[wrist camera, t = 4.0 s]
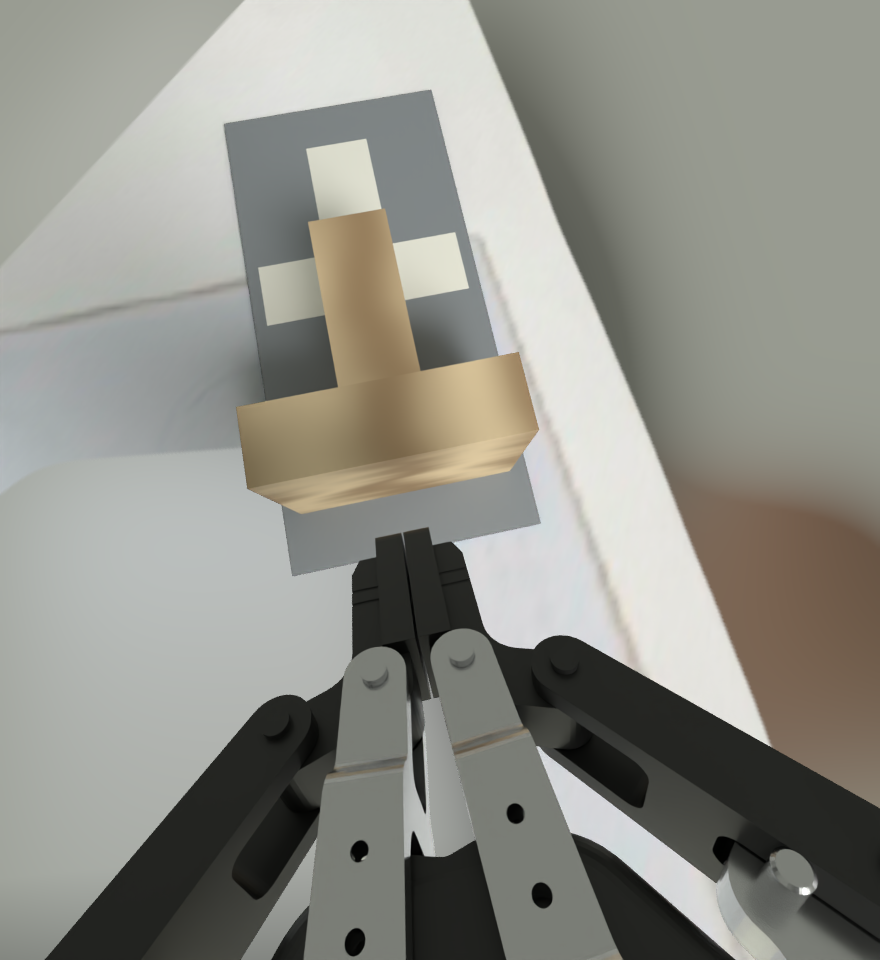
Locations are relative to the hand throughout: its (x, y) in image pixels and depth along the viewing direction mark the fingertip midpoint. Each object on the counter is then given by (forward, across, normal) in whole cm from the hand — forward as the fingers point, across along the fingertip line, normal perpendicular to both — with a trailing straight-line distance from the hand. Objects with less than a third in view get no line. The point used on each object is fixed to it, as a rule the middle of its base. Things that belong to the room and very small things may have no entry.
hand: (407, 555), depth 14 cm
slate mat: (+21, 0, -1) cm, 21 cm away
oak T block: (+17, 0, +2) cm, 17 cm away
